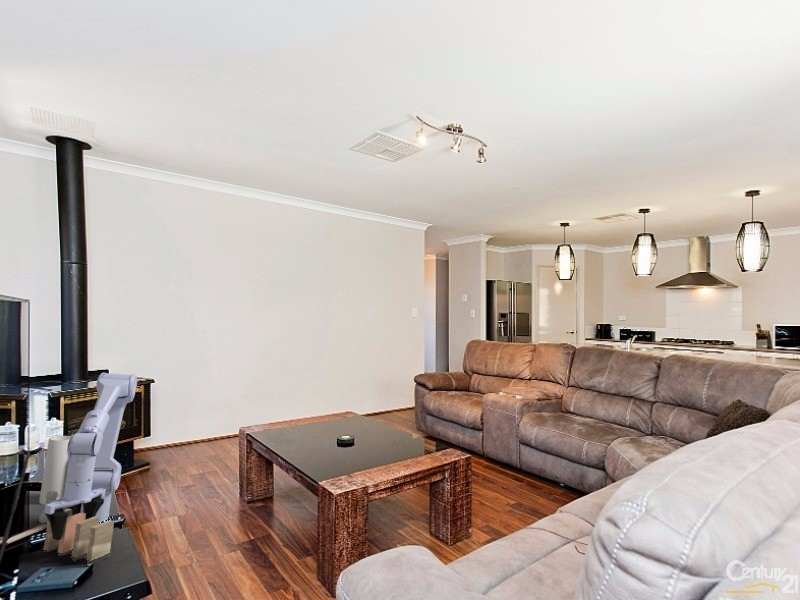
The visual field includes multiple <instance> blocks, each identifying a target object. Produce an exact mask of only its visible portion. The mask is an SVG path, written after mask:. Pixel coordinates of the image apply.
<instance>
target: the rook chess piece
mask: <svg viewBox="0 0 800 600" xmlns="http://www.w3.org/2000/svg"><path fill="white" fill-rule="evenodd" d="M55 492H56V493H55ZM58 496H59V495H58V492H57V491H53V493H52V491H50V493H49V492H48V493H47V495H46V496H45V498H46V501H45V503H46V505H47V504H50V503H52V502H54V501H56V498H57V497H58ZM46 505H45V504H44V509H43V511H42V512H41V514H39V519H38V521H39V523H42V524H46V523H45V522H48V518H47V516H46V515H45V513H44V512H45V506H46Z"/></svg>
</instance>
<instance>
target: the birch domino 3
mask: <svg viewBox="0 0 800 600" xmlns="http://www.w3.org/2000/svg"><path fill="white" fill-rule="evenodd" d="M114 524H115V521H114V520H111V519H110V520H109V521H106V522H104V523H101V524H98V525H96V526H93V527H91V531H90V538H89V545H88V552H87V557H86V560H89V561H92V560H94V559H97V558H99V557H102V556H104V555H106V554H108V553H111V546H112V540H113V533H114Z"/></svg>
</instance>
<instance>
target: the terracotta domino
mask: <svg viewBox="0 0 800 600" xmlns="http://www.w3.org/2000/svg"><path fill="white" fill-rule="evenodd" d="M85 517H86V513H82V512H81V511H80V512H79V513H76V514H72V516H70V517H67V519H66V522H65V525H64V529H63V535H62V538H61V539H60V540H59V547H58V549H57V553H58V552H59V553H65V552H67V551H69V550H72V549H73V544H74V537H75V530H76V523H78V522H81V521H84V520H85Z"/></svg>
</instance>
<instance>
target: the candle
mask: <svg viewBox="0 0 800 600" xmlns="http://www.w3.org/2000/svg"><path fill="white" fill-rule="evenodd" d="M70 437H71V435H70V436H68V435H58V436H52V437H48V442H47V449H46V456H45V464H44V469H43V475H42V480H41V489H40V496H39V501H38V503H39V504H40V505H44V506H45V505H46V503H45V501H46V498H45V496H46V495H47V493H48V492H49V493H50V491H52V493H53V491H57V492H58V495H59V496H58V497H57V498H56V500H58V499H60V498H62V497H64V494H65V487H66V480H67V473H68V467H69V463H68V462H67V458H68V454H67V446H68V442H69V439H70ZM55 493H56V492H55Z"/></svg>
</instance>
